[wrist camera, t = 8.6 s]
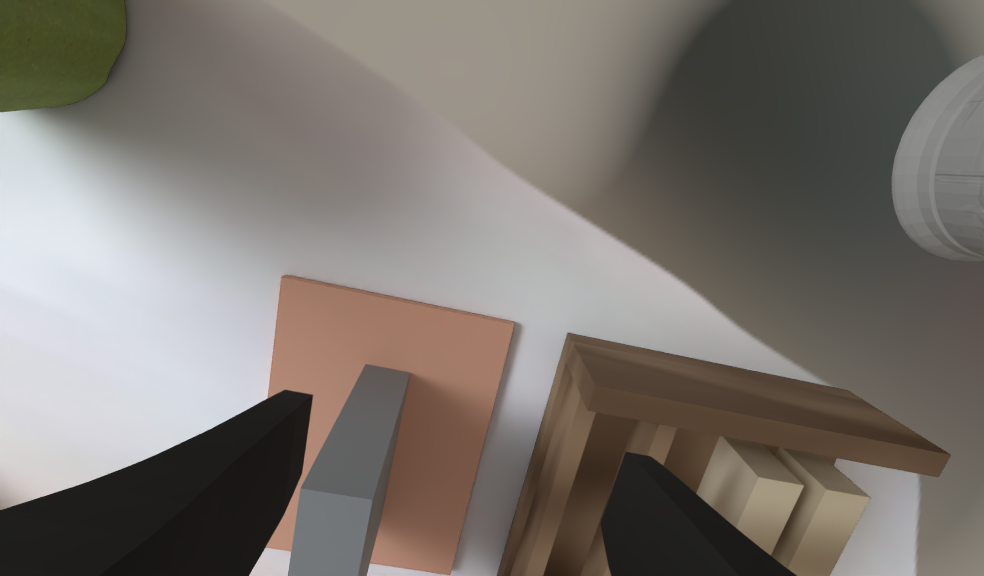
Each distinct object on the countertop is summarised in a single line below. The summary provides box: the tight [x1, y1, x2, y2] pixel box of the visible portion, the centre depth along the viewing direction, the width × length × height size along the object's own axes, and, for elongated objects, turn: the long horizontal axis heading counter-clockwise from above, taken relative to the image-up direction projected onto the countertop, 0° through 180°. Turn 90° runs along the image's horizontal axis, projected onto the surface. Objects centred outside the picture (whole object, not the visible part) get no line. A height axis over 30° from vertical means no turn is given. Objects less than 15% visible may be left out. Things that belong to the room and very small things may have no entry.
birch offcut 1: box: [696, 436, 804, 555], centre depth 21 cm, size 8×2×3 cm, turn 167°
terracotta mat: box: [265, 275, 514, 575], centre depth 22 cm, size 14×10×1 cm
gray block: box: [288, 364, 410, 576], centre depth 18 cm, size 8×2×8 cm, turn 167°
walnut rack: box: [497, 333, 951, 576], centre depth 21 cm, size 14×14×5 cm
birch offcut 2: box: [771, 447, 870, 576], centre depth 21 cm, size 8×2×3 cm, turn 167°
